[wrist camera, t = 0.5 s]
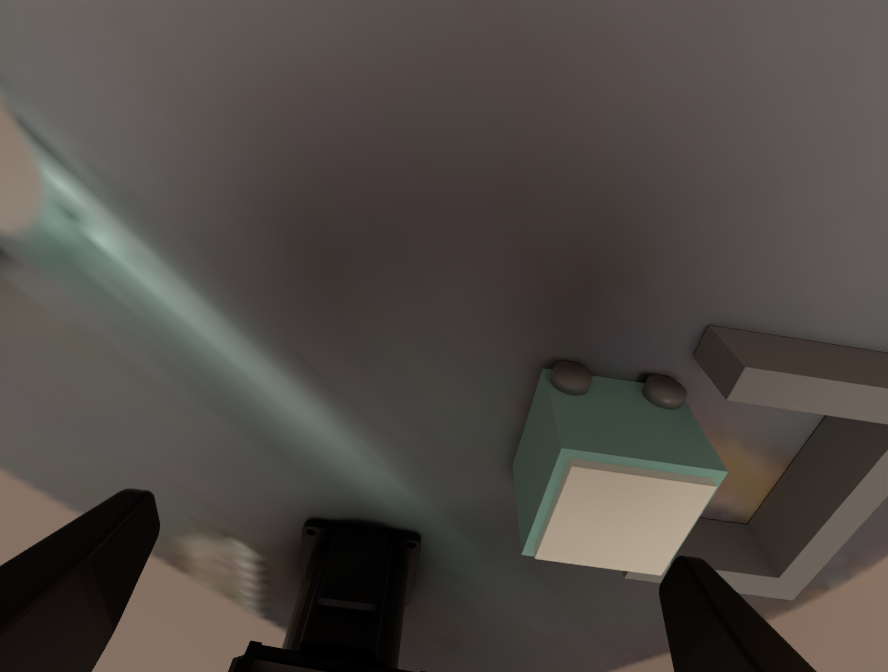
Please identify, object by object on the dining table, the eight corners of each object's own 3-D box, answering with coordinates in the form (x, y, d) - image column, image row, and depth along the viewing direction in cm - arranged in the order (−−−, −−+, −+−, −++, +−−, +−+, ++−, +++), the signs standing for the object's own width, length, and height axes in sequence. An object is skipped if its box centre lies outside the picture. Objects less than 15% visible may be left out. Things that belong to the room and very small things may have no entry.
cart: (624, 489, 25) (660, 591, 20) (509, 473, 24) (519, 572, 20) (680, 375, 21) (741, 468, 16) (545, 355, 21) (568, 443, 16)
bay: (760, 546, 26) (792, 600, 24) (608, 525, 26) (624, 578, 23) (907, 356, 20) (972, 401, 17) (708, 325, 20) (745, 367, 17)
